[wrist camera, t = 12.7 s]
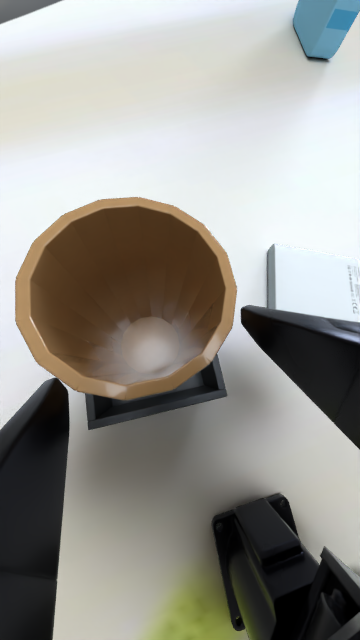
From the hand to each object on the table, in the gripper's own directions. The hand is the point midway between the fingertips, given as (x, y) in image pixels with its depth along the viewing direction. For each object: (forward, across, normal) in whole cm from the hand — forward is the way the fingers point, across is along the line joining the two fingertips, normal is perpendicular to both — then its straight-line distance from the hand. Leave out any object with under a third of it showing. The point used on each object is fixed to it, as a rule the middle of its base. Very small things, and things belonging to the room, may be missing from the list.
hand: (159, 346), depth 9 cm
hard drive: (+7, -19, +6) cm, 22 cm away
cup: (+7, 0, +5) cm, 9 cm away
